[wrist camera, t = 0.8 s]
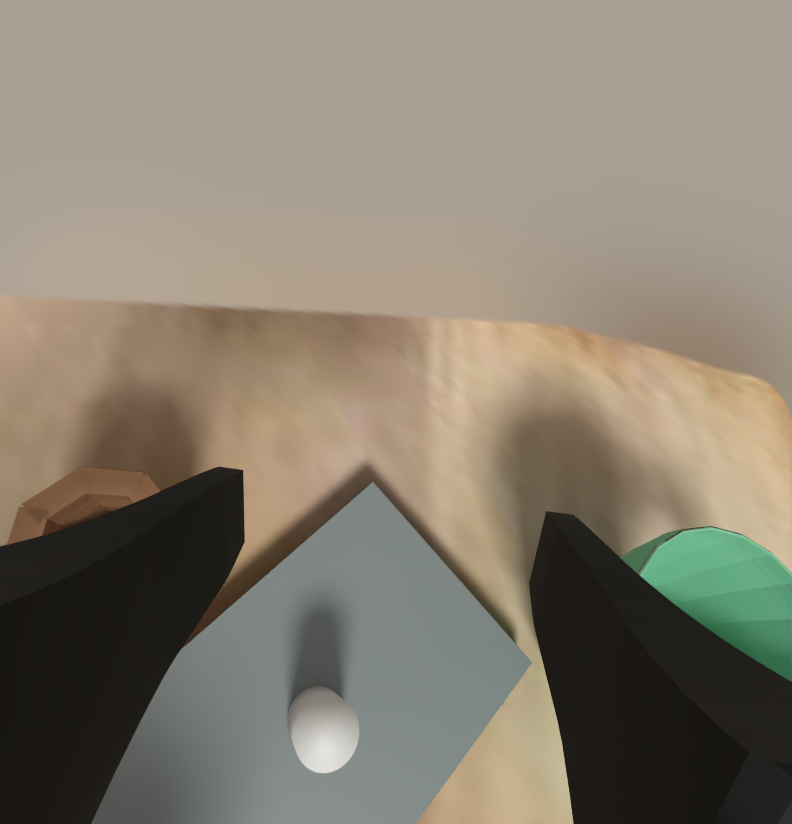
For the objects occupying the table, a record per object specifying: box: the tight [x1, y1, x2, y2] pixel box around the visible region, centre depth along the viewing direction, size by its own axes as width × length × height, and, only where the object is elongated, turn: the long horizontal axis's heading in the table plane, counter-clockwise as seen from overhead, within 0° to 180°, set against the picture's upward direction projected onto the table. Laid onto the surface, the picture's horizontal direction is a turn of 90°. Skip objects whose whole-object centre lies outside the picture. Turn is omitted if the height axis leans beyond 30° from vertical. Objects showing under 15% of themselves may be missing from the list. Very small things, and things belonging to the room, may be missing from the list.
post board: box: [91, 482, 532, 824], centre depth 20 cm, size 18×12×5 cm, turn 133°
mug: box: [620, 526, 792, 681], centre depth 23 cm, size 15×10×10 cm
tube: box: [7, 467, 160, 545], centre depth 21 cm, size 6×6×5 cm
